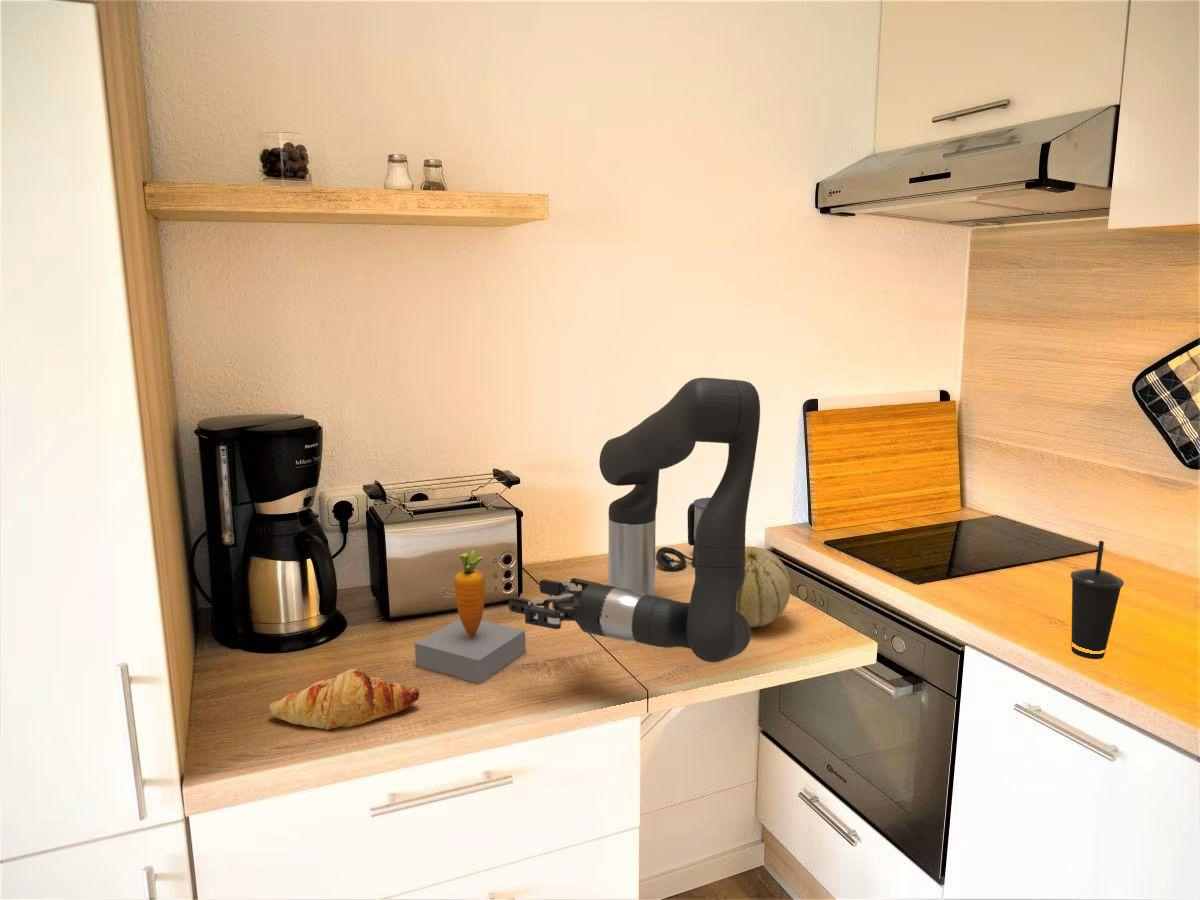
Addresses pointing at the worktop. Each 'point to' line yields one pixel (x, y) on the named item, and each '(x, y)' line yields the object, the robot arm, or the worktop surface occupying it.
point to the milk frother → (693, 519)
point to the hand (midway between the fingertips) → (525, 594)
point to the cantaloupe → (763, 587)
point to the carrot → (470, 594)
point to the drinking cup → (1093, 607)
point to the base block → (470, 650)
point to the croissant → (344, 701)
